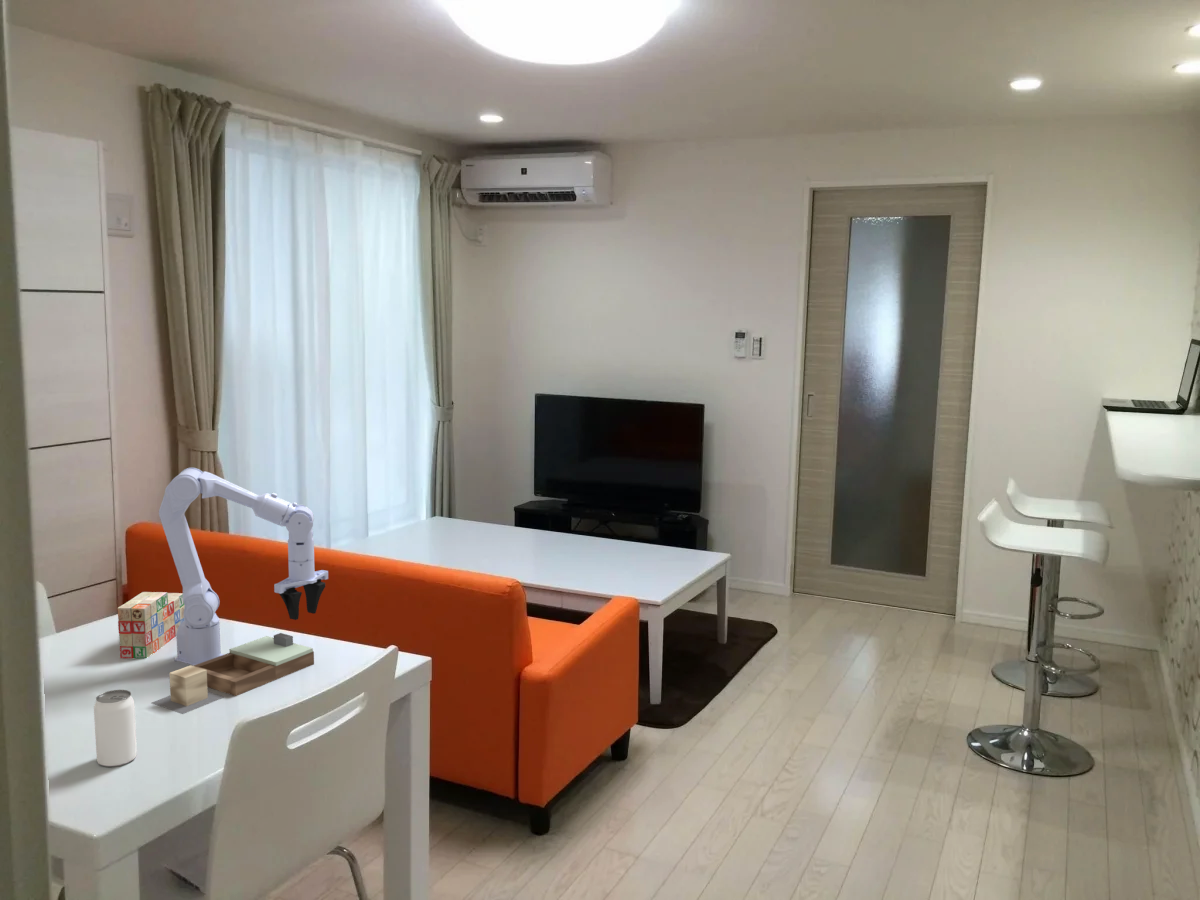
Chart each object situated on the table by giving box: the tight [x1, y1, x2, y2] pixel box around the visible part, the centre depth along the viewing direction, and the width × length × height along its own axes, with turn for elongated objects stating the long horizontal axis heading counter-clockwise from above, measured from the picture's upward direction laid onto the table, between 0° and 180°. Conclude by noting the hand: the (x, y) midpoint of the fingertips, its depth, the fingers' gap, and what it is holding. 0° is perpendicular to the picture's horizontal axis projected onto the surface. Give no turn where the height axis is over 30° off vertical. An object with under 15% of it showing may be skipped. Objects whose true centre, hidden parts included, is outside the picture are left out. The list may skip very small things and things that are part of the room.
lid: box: [228, 632, 314, 666], centre depth 218 cm, size 15×10×3 cm
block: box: [169, 664, 209, 706], centre depth 198 cm, size 5×5×6 cm
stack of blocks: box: [117, 591, 185, 659], centre depth 232 cm, size 21×6×12 cm, turn 0°
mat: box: [151, 691, 225, 715], centre depth 199 cm, size 10×10×1 cm
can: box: [93, 689, 138, 768], centre depth 173 cm, size 6×6×12 cm
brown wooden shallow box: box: [193, 650, 315, 697], centre depth 214 cm, size 15×22×4 cm
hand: (302, 615), depth 225 cm, fingers open, 5 cm apart
